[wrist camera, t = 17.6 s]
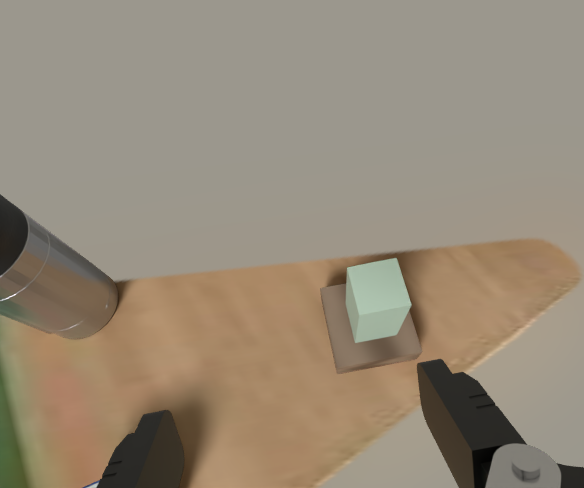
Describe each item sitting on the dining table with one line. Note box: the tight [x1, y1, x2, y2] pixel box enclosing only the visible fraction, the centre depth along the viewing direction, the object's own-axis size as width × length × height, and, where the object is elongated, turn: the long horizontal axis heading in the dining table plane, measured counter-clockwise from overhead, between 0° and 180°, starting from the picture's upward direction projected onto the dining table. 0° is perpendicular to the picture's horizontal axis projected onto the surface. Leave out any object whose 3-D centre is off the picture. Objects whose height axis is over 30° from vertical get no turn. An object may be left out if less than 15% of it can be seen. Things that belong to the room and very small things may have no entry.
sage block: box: [346, 258, 412, 343], centre depth 39 cm, size 4×4×10 cm
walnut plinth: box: [320, 283, 422, 374], centre depth 46 cm, size 9×9×4 cm
